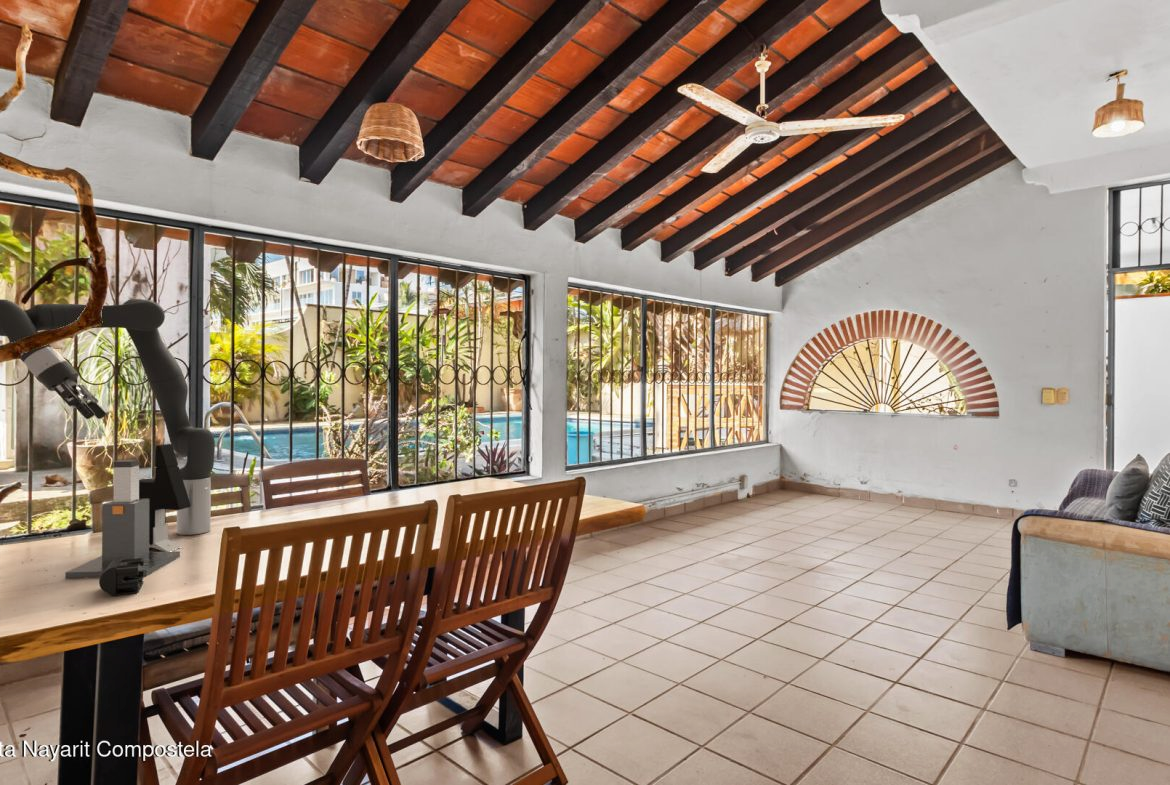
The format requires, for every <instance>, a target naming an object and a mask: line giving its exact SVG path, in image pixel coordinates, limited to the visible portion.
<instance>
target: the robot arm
mask: <svg viewBox="0 0 1170 785" xmlns="http://www.w3.org/2000/svg"><path fill="white" fill-rule="evenodd" d="M86 305H87V304H81V303H39V304H35V305H33V306H32V307H30V308H28V309H25V310H24V309H23V308H22V307H21V306H20V305H19V304H17V303H15V302H14V301H12V300H8V299H0V337H7V339H8V342H9V343H11V342H14V341H17V340H19V339H22V338H24V337H27V336H30V335H33V334H37V333H39V332H41V331H53V330H52V329H57V328H60V327H63V326H66V325H68V324H70V323H72V322H74V321H75V320H77V318H78V317H79V316H80V314H81V313H82V311H83V310H84V308H85V307H86ZM165 318H166V314H165V311H164V308H162V307H161V305H160V304H158V303H157V302H155V301H152V300H149V299H142V298H130V299H128V300H125V302H124V303H122V304H112V305H111V304H110V305H107V304H106V305H105V304H104V306H103V309H102V321H103V325H102V326H97V327H92V328H91V329H102V328H103V329H105V328H107V329H109V328H111V329H112V328H115V329H125V330H126V333H127V334H128V335H129V338H130V339H131V341H132V343H133V345H134V347H135V349H136V351H137V355H138V358H139V360H140V363H141V366H142V369H143V370H144V373H145V376H146V379H147V381H148V384H149V386H150V389H151V391H152V393H153V395H154V397H155V399H156V400H155V401H156V402H157V405H158V408H159V411H160V413H161V415H162V418H163V420H164V425H165V427H166V431H167V435H168V439H169V442H170V444H171V445H172V446H173V449H174V453H175V454H178V455H179V456H183V457H186V463H185V465H184V466H183V467H181V468H179V469H180V472H181V475H182V479H183V482H184V485H185V488H186V491H187V495H188V498H189V501H190V504H191V506H190V507H188V508H184V509H181V510H176V534H177V535H181V536H185V535H186V536H189V535H192V536H193V535H198V534H199V535H200V534H205V533H208V532H210V531H211V516H212V515H211V509H212V508H211V503H212V502H211V500H212V499H211V498H212V497H211V496H212V495H211V493H212V492H211V490H212V486H211V483H212V482H211V480H212V478H211V477H212V471H213V469H214V465H215V452H216V451H215V448H216V441H215V436H214V433H213V432H212V431H210V430H209V429H207V428H204V427H194V426H193V425H192V423H191V421H190V418H189V415H188V413H187V400H188V392H189V391H188V390H189V389H188V385H187V384H188V383H187V381H186V378H185V376H184V373H183V370H182V369H181V366H180V365H179V363H178V361H177V360H176V358H175V357H174V356H173V354H172V352H171V351H170V350H169V349H168V348H167V346H166V345H165V343H164V342H163V340H162V338H161V334H160V332H159V329H158V328H160V327H161V326H162V325H163V324H164V322H165ZM18 358H19V359H20V360H21V361H22V362H23V364H24V365H25V366H26V367H27V370H29V372H31V374H33V375H34V377H35V378H36V379H37V380H38V381H39V382H40V383H41V384H42V385H43V386H44V387H45V388H46V389H47V390H48V391H49V392H55V393H56V394H57V395H59V397H60V398H61V399H62V400H63V401H64V403H66V404H67V406H69V407H72V408H73V409H76V410H77V411H78V412H79V413H80V414H81V415H82V416H83V417H84V418H85V419H86V420H89V419H92V418H94V417H96V419H98V420H101V419H103V418H104V417H106V416H107V412H106V411H105V410H104V409H103V408H102V407H101V406H100V405H99V400H98V399H97V398H96V397H95V396H94V395H93V394H92V393H91V392H90V391H89V390H88V389H87V387H86V386H85V385H83V384H78V383H77V382H75V380H77V379H78V378H79V372H78V371H77V370H76V369H75V368H74V367H73V366H72V365H71V364H70V363H69V362H68V360H67V359H65V358H64V357H63V355H61V353H59V352H58V351H57V350H56V349H54V347H53V346H51V344H50V343H49V344H48V345H46V346H43V347H41V348H38V349H34V350H32V351H29V352H27V353H24V354H23V355H22V356H21V357H18Z"/></svg>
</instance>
